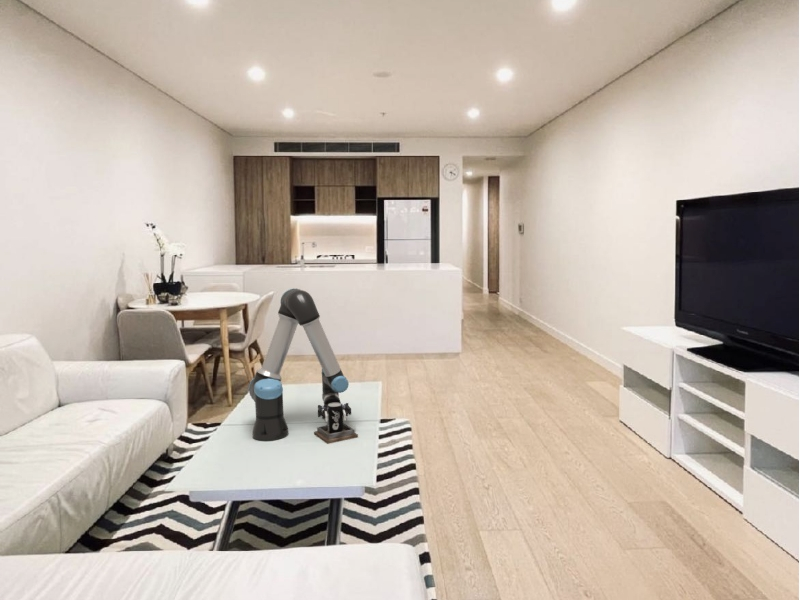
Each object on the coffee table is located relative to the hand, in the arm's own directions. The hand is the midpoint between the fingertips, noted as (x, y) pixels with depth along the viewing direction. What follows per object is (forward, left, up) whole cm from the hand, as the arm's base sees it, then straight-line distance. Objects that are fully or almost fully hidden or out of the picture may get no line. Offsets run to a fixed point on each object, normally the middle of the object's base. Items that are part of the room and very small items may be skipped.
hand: (335, 418), depth 237 cm
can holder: (+2, +5, -9) cm, 11 cm away
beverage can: (+2, +5, -8) cm, 9 cm away
